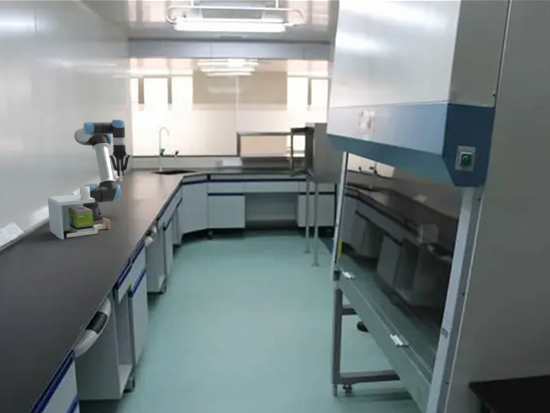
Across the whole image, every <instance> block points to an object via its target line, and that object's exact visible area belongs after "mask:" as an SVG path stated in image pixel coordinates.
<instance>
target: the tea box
mask: <svg viewBox="0 0 550 413" xmlns="http://www.w3.org/2000/svg"><path fill="white" fill-rule="evenodd" d="M69 222H70V230H69V231H70V233H76V232H84V231H91V230H94V227H93V225H94V220H93V212H92V210H91V209H88V208H86V207H75V208H69Z"/></svg>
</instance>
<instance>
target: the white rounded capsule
mask: <svg viewBox="0 0 550 413" xmlns="http://www.w3.org/2000/svg"><path fill="white" fill-rule="evenodd" d="M81 186H82V187H81ZM81 186H79V194H80V195H81V199H90V187H89V186H83V185H81Z"/></svg>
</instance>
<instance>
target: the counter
mask: <svg viewBox="0 0 550 413" xmlns="http://www.w3.org/2000/svg"><path fill="white" fill-rule="evenodd" d="M93 202H95V199H94V198H91V197H90V199H81V195H80V193H76V194H65V195H64V194H63V195H55V196H52V195H51V196H47V205H48V206H47V207H48V218H49V220H48V221H49V232H50V231H51V232H52V233H53V235H54V234H55V235H56V236H55V235H54V236H55V237H57V238H59V239H60V240H65V239H64V238H65V236H64V231H63V227H70V222H69V208H75V207H83V203H93ZM51 232H50V233H51ZM52 233H51V234H52Z"/></svg>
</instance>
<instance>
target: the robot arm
mask: <svg viewBox="0 0 550 413" xmlns="http://www.w3.org/2000/svg"><path fill="white" fill-rule="evenodd" d="M74 140H75V141H76V143H78V144H80V145H82V146H91V147H92V149H93V150H94V151H95V156H96V161H97V167H98V173H99V178H100V182H99V184H97V183H89V184H84V185H81V186H80V187H82V186H89V187H90V197H91V198H94V199H95V202H93V203H83V207H86V208H88V209H91V210H92V212H93V221H97V220H98V221H99V220H101V219H103V214H102V211H101V209H100V206H99V204H100V203H109V202H110V203H111V202H118V201H119V200H120V197H121V195H122V194H121V192H122V190H121V186H120V184H118V183H117V181H116V179H114V174H113V170H114V171H116V176H117V177H118V181H119V182H123V181H124V180H123V177H124V176H125V173H124V171H126V170H127V168H128V163H129V160H130V157H131V155H130V154H128V153H127V149H126V125H125V120H124V119H112V120H111V121H110V122H109V121H106V122H105V121H104V122H102V121H100V122H99V121H98V122H97V121H96V122H94V121H89V122H88V121H87V122H84V124H83V128H79V129H77V130H76V131H75V132H74ZM112 144H113V145H112ZM111 145H112V150H113V151H112V154H111V155H110V152H109V148H110V146H111ZM124 158H125V159H124ZM115 161H116V162H115ZM111 163H112V164H111ZM112 167H113V169H112Z"/></svg>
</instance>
